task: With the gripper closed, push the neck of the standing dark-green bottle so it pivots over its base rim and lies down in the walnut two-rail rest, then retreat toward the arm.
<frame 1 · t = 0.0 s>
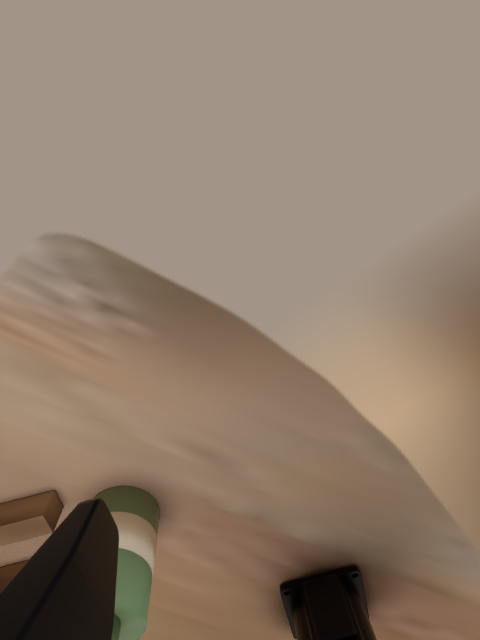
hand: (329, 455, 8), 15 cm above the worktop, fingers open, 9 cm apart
bottle: (124, 513, 27), on the worktop
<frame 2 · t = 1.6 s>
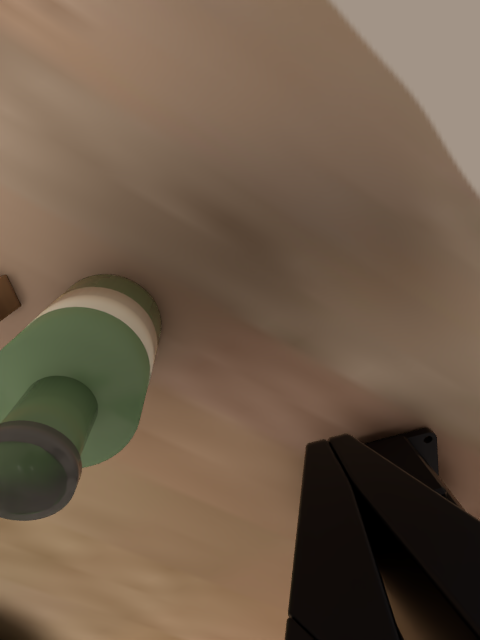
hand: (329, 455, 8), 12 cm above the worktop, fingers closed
bottle: (110, 323, 18), on the worktop
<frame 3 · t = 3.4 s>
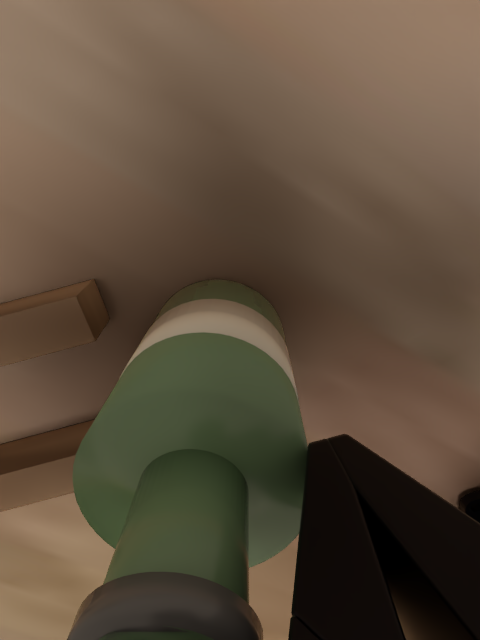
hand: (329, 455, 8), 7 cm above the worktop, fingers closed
bottle: (218, 342, 14), on the worktop, tilted 7°, touching gripper
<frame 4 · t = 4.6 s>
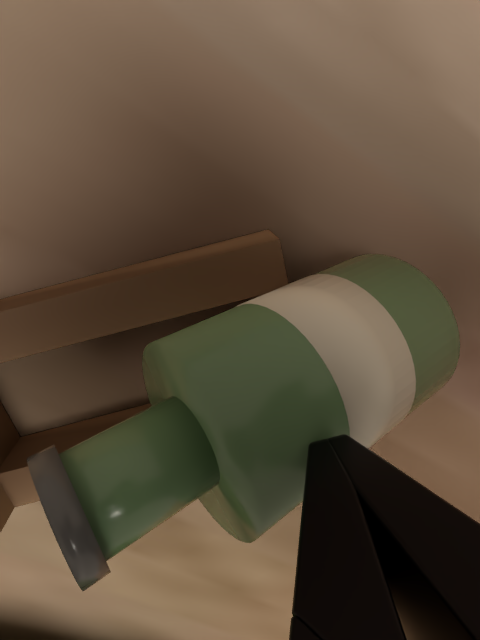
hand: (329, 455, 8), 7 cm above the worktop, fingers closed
bottle: (381, 328, 12), point 2 cm above the worktop, tilted 59°, touching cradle, gripper
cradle: (142, 358, 14), on the worktop
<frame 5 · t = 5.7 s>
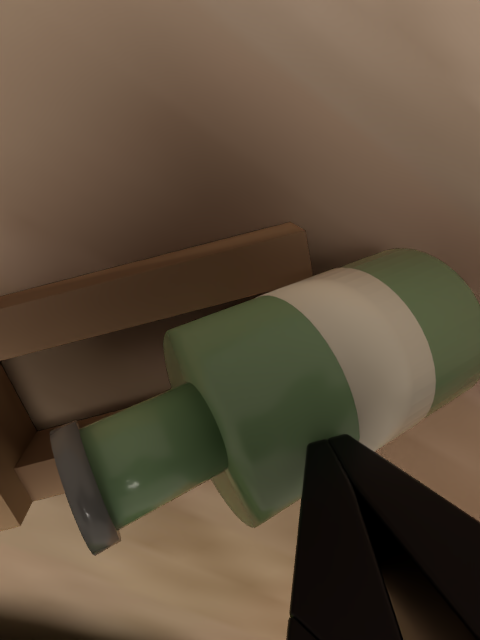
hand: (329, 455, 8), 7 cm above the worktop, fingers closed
bottle: (408, 325, 12), point 3 cm above the worktop, tilted 66°, touching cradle, gripper
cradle: (161, 352, 14), on the worktop
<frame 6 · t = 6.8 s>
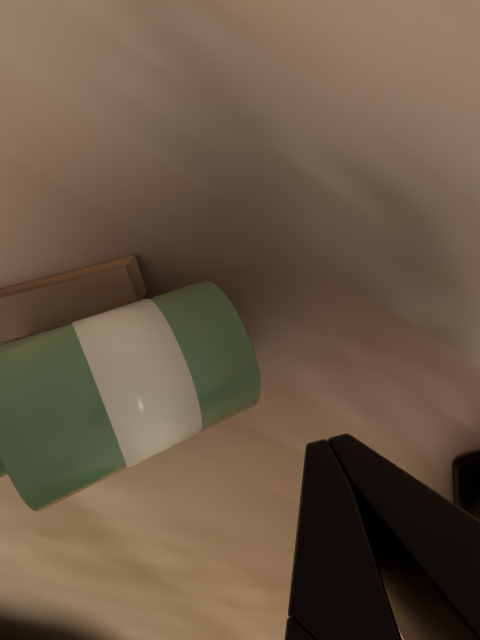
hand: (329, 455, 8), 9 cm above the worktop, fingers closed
bottle: (223, 344, 14), point 3 cm above the worktop, tilted 66°, touching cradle
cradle: (34, 364, 16), on the worktop
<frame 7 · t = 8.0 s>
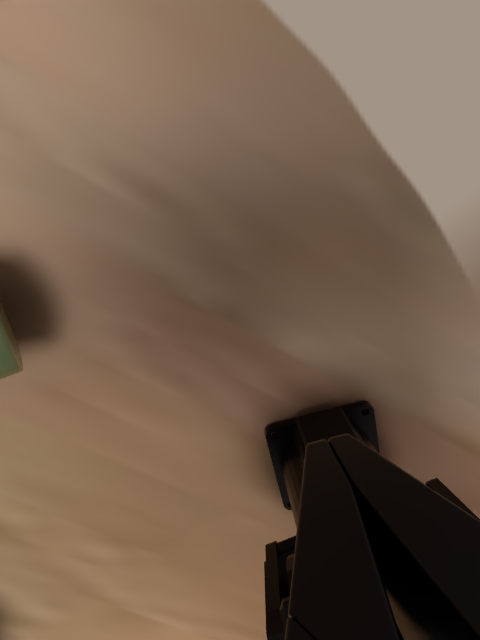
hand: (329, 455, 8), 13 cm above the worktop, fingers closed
bottle: (1, 319, 17), point 3 cm above the worktop, tilted 66°, touching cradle
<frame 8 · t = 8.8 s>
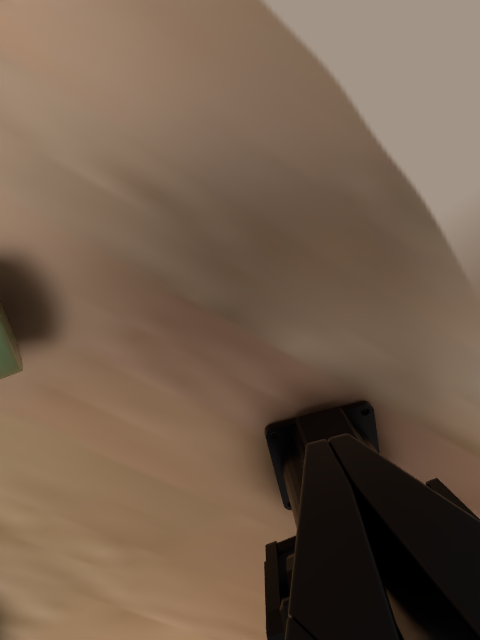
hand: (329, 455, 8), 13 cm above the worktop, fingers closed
bottle: (1, 319, 17), point 3 cm above the worktop, tilted 66°, touching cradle
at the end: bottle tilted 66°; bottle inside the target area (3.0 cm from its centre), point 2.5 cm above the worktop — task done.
